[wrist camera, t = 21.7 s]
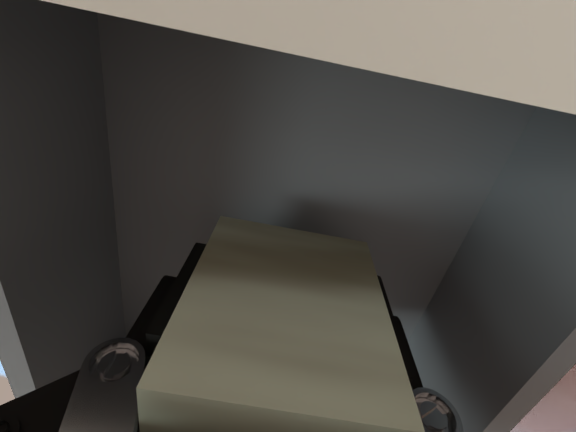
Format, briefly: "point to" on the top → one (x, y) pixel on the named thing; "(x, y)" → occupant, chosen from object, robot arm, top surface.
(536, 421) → the top surface
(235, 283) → the sage block
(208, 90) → the tray
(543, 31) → the white drawer housing
